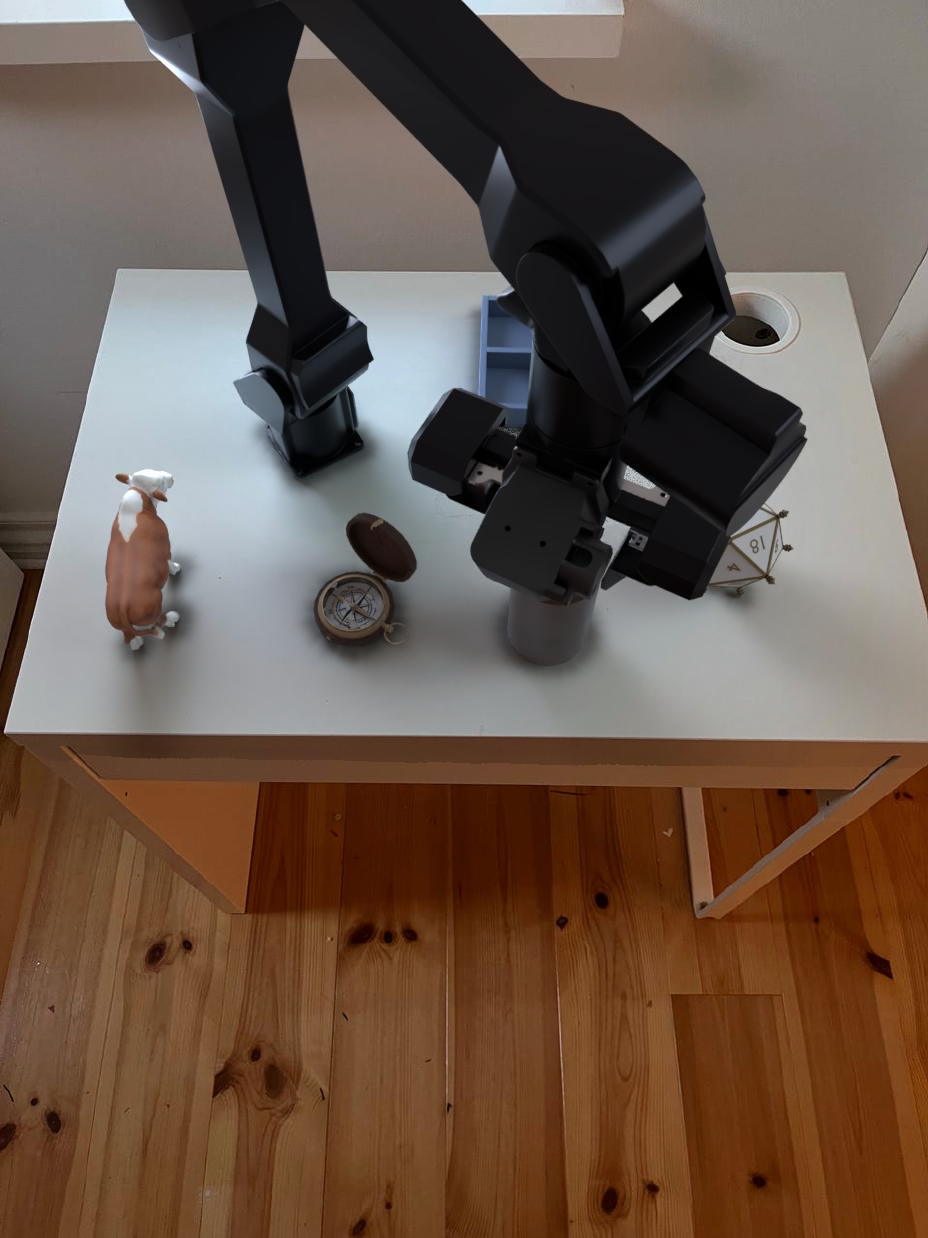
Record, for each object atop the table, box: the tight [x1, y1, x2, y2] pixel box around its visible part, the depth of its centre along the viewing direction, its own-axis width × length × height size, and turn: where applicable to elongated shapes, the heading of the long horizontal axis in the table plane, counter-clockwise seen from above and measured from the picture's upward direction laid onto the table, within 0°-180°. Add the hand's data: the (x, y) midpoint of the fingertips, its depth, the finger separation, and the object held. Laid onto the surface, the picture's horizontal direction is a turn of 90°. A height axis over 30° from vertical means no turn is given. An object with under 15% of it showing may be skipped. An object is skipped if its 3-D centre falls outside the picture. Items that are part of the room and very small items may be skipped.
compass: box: [313, 512, 418, 647], centre depth 65 cm, size 8×8×7 cm
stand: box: [507, 580, 602, 666], centre depth 64 cm, size 6×6×10 cm
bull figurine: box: [104, 469, 182, 651], centre depth 66 cm, size 4×13×8 cm, turn 179°
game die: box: [704, 502, 795, 598], centre depth 67 cm, size 9×8×10 cm
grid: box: [478, 295, 533, 428], centre depth 78 cm, size 13×13×2 cm
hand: (557, 562), depth 59 cm, fingers open, 7 cm apart
